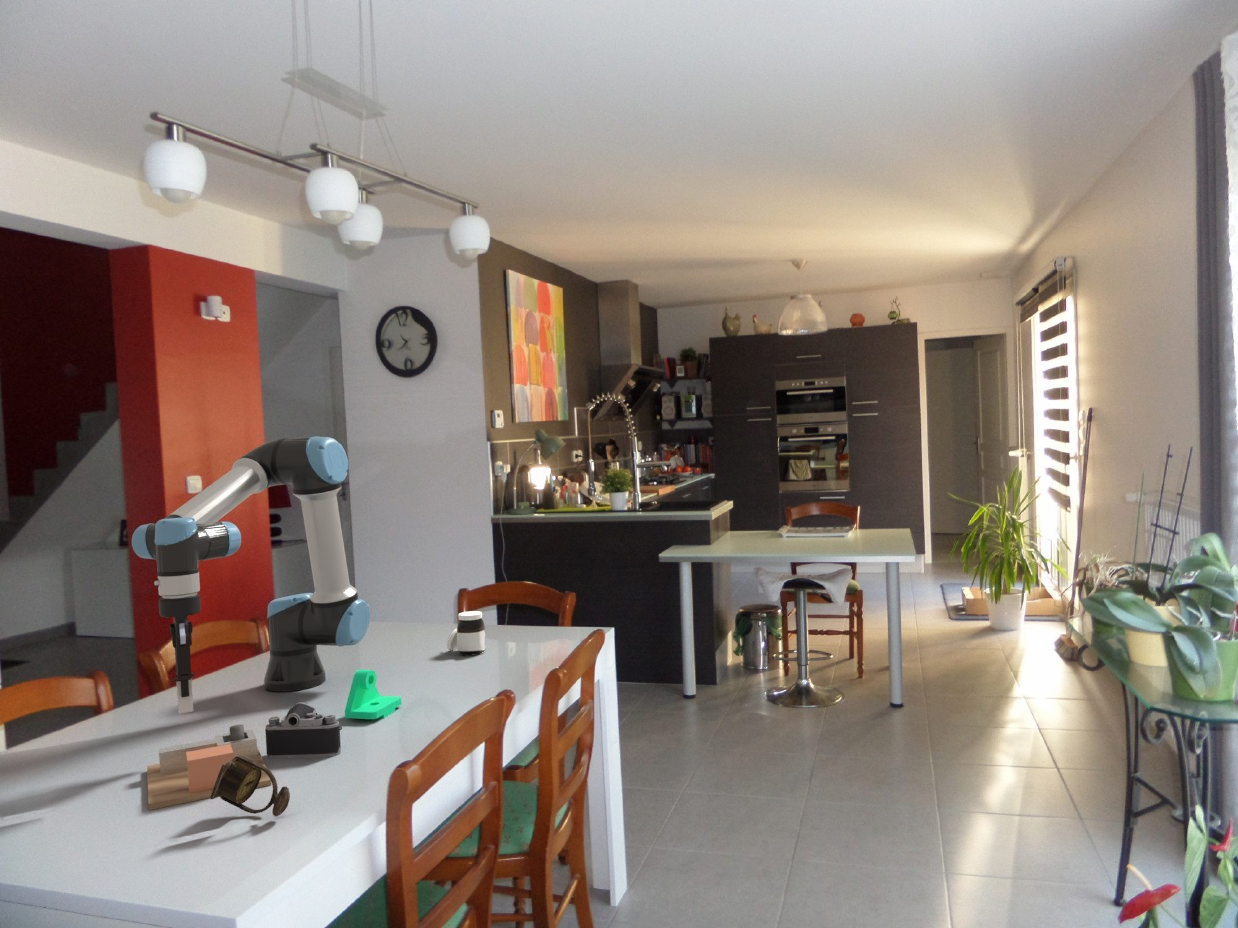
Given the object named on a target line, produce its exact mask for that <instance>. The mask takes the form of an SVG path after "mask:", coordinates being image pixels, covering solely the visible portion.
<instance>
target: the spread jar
mask: <svg viewBox="0 0 1238 928" xmlns="http://www.w3.org/2000/svg"><path fill="white" fill-rule="evenodd" d="M457 617H458V622H457V625H456V628H455V629H453V631H452V632H451V633H450V635H449V636H448V637H447V638H448V639H447V642H446V648H447V649H448V650H449V651H452V650H455V649H457V652H458V654H459V655H460V654H462V655H461V656H465V655H469V656H473V655H472V654H478V655H481V654H480V653H482V652H484V651H485V652H486V646H487V645H486V644H487V643H486V625H485V621H484V619H483V612H482V611H479V610H478V611H477V610H472V611H471V610H469V611H462V612H459V613H458V616H457ZM455 651H456V650H455ZM452 652H453V651H452ZM485 652H484V653H485ZM482 654H483V653H482Z"/></svg>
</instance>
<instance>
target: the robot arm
mask: <svg viewBox="0 0 1238 928" xmlns="http://www.w3.org/2000/svg"><path fill="white" fill-rule="evenodd" d="M348 471H349V459H348V456H347V453H346V450H345V449H344V447H343V445H342V444H341V443H340V442H338V441H337V440H336V439H335V438H332V437H331V436H330V437H329V436H319V435H317V436H301V437H289V438H285V437H284V438H276V439H272V440H270V441H267V442H264V443H263V444H261V445H258V446H257V447H255V448H254V449H252V450H250V451H248V452H247V453H245V454H243V455H242V456H241V457H240V458H238V459H237V460H235V462H233V464H232V466H231V470H229V471H228V472H227V473H226V472H225V474H224V475H222V476H221V477H219V478H218V479H217V480H215V481H213V482H212V483H211V484H210V485H208V486H207V487H206V488H204V489H203V490H202V491H200V492H198V493H197V494H196V495H195V496H193V497H192V498H190V499H189V500H188V501H187V502H185V503H184V504H182V505H181V506H179V507H178V508H176V510H174V511H173V512H171V513H170V514H169V515H168V516H166V517H164V518H162V519H159V520H158V521H156V522H155V523H152V522H151V523H147V524H142V525H140V526H138V527H136V529H135V530H134V532H133V534H132V536H131V537H132V538H131V548H132V550H133V552H134V553H135V555H136V556H138V558H142V559H146V560H147V559H148V560H149V559H150V560H155V561H156V567H157V568H156V569H157V579H158V580H155V581H154V586H158V588H157V589H158V596H161V597H159V599H158V612H159V613H158V614H159V616H160V617H161V618H167V619H169V618H173V623H170V624H169V632H170V634H171V644H172V647H173V648H174V655H175V656H174V657H175V670H174V671H175V678H172V681H173V683H176V695H177V696H176V697H177V712H178V714H185V713H190V712H194V700H193V699H194V697H193V695H194V694H193V682H192V678H193V677H195V672H192V660H191V659H192V658H191V646H192V645H193V641H192V638H193V637H192V633H193V630H194V629H193V623H192V621H188V616H189V617H190V616H193V615H197V614H199V613H200V612H201V610H202V609H201V608H202V607H201V595H200V594H199V592H200V590H201V584H200V571H199V562H203V561H209V560H213V559H224V558H226V557H229V556H232V555H234V554H235V553H237V552H238V550H239V549H240V547H241V544H242V533H241V531H240V529H239V528H238V527H237V525H236V524H234V523H233V522H230V521H220V520H221V519H222V518H224V516H226V515H228V514H229V513H230V512H231V511H233V510H234V509H235V508H236V507H237V506H239V505H240V504H241V503H243V502H244V501H246V499H248V498H249V497H250V496H251V495H253V494H255V495H256V494H260V493H262V492H264V491H265V490H266V489H268V488H271V487H275V486H283V485H285V486H286V485H287V486H288V485H289V486H290V485H291V488H292V490H291V491H292V495H293V496H295V497H296V498H297V499H299V501H300V504H301V511H302V516H303V517H302V518H303V523H304V530H305V536H306V542H307V548H308V555H309V560H310V561H309V562H310V568H311V574H312V580H313V586H314V592H305V593H298V594H292V595H287V596H284V597H279V598H275V599H273V600H271V601H270V602H268V605H267V616H266V620H267V629H268V643H269V644H268V645H269V646H268V647H269V659H268V664H267V667H266V671H265V674H264V680H263V682H264V683H263V684H264V689H265V690H267V691H271V692H293V691H297V690H298V691H301V690H306V689H309V688H313V687H317V686H319V685H321V684H323V683H325V682H326V679H327V678H326V670H325V668H324V666H323V662H322V660H321V658H320V656H319V655H320V654H319V653H318V647H317V646H331V647H332V646H333V647H335V646H336V647H345V646H355V645H357V644H358V643H360V642H361V641H362V640H363V639H364V637H365V635H366V634H367V631H368V628H369V626H370V622H371V621H370V620H371V609H370V606H369V604H368V603H367V602H366V601H365V600H363V599H361V598H359V595H358V590H357V588H356V587H354V586H353V585H352V584H351V583H350V577H349V571H348V570H349V569H348V564H347V556H346V550H345V544H344V537H343V531H342V525H341V517H340V511H339V503H338V498H337V495H338V492H339V491H340V490H341V489H342V482H344V480H345V479H346V478H347V476H348Z"/></svg>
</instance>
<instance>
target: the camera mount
mask: <svg viewBox="0 0 1238 928" xmlns="http://www.w3.org/2000/svg"><path fill="white" fill-rule="evenodd" d="M376 683H377V673H376V672H375V670H374V669H357V670H356V671H355V673H354V675H353V678H352V682H351V685H350V690H349V692H348V697H347V701H346V704H345V709H344V718H345V719H361V720H377V719H386V718H387V717H388V715H389V716H390V715H392V714H394V713H395V712H396V709H397V708H398V707H399V706H400V707H401V705H402V696H395V695H394V696H393V695H390V696H389V695H380V692H379V691H378V689H377V687H376Z"/></svg>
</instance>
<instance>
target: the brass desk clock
mask: <svg viewBox="0 0 1238 928" xmlns="http://www.w3.org/2000/svg"><path fill="white" fill-rule="evenodd" d="M265 766H266V765H265ZM265 766H263V765H261V764H259V763H257V762H255V761H253V760H251V759H249V758H247V757H245V756H242V755H237V756H236V757H235V758H234V759H232V760H231V761H229V762H227V763H225V764H223V765H222V767H221V769H220V772H219V774H218V777H217V779H216V782H215V785H214V788H213V791H212V794H211V797H210V798H209V799H210V800H214V799H217V798H219V797H220V799H221V800H223V801H224V802H226V803H228V804H230V805H232V806H234V807H237V808H238V809H240V810H242V811H244V812H247V813H250V814H253V815H254V814H260V813H263V812H266V810H268V809H269V808H271V807H272V805H273V807H272V810H271V811H272V816H274V817H279V816H281V815H282V814H283V813H284V812H285V811H286V809H287V808H288V805H289V802H290V799H291V798H290V797H291V795H290V794H291V792H290V789H289V788H288V787H287V786H282V787H281V788H280V790H279V791H278V781H277V779H276V776H274V774H273V772H272V770H270V768H269V767H267V766H266V767H265ZM261 770H262V771H264V772H265V773H266V774H267V775H268V776H269V778H270V780H271V786H272V793H271V797H270V800H269V802H268V803H267V805H266V806H264V807H263V808H260V809H253V808H251V807H249V806H247V805H245V804H244V803H245V802H247V801H248V800H249V799H250V798H251V797H252V795H253V794H254V793H255V791H256V790H257V789H258V788H257V786H258V784H259V781H260V779H261V772H262V771H261Z"/></svg>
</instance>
